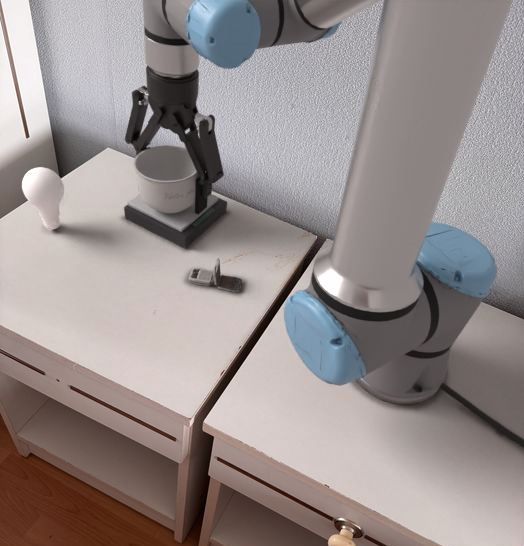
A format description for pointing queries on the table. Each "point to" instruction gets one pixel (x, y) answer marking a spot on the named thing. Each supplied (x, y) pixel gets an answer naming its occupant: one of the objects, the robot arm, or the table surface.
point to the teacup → (166, 178)
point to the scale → (176, 219)
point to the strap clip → (214, 278)
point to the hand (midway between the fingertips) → (173, 196)
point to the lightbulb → (44, 194)
